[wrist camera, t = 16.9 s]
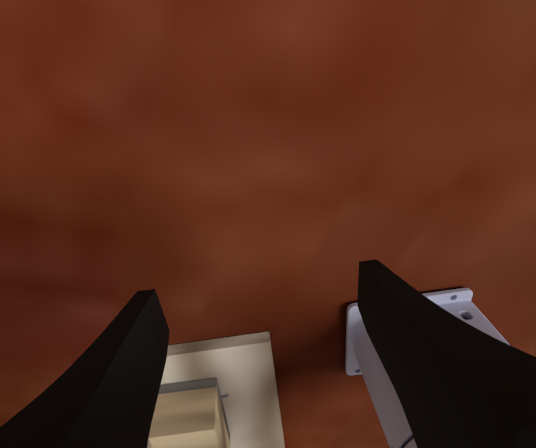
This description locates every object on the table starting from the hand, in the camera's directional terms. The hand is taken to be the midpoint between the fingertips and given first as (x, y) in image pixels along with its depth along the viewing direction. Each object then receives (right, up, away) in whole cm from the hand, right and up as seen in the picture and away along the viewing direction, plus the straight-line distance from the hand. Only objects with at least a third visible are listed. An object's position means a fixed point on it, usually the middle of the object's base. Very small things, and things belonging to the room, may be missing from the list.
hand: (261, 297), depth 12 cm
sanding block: (-6, -13, +17) cm, 22 cm away
